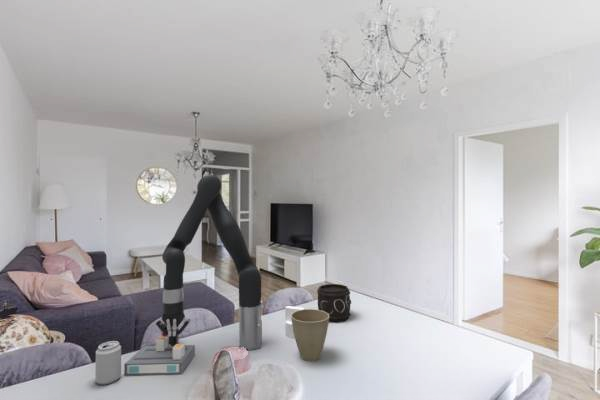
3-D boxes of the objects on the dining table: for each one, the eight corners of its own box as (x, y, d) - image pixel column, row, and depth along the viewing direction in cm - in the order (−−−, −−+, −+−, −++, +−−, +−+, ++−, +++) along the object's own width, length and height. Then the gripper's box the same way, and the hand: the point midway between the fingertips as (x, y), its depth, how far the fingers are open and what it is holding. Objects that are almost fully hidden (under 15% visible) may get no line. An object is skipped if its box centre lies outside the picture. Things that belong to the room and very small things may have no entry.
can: (103, 374, 108) (103, 340, 108) (125, 373, 108) (125, 339, 109) (90, 386, 100) (90, 349, 101) (114, 385, 101) (114, 348, 101)
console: (194, 355, 121) (194, 344, 122) (181, 374, 107) (181, 362, 107) (144, 356, 121) (144, 346, 121) (123, 375, 107) (124, 364, 107)
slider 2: (184, 354, 113) (184, 343, 113) (181, 359, 109) (181, 347, 109) (176, 355, 113) (176, 343, 113) (172, 359, 109) (172, 347, 109)
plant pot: (302, 370, 109) (302, 324, 109) (285, 353, 122) (284, 312, 122) (337, 360, 116) (336, 317, 116) (317, 345, 129) (316, 306, 129)
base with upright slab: (282, 336, 138) (281, 309, 139) (290, 329, 146) (289, 304, 147) (300, 339, 135) (300, 311, 135) (307, 331, 143) (307, 305, 144)
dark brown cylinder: (354, 323, 153) (353, 291, 153) (318, 323, 153) (318, 292, 154) (349, 311, 171) (348, 283, 171) (317, 311, 171) (316, 283, 172)
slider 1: (167, 347, 120) (167, 336, 120) (163, 351, 116) (163, 339, 116) (159, 347, 120) (159, 336, 120) (155, 351, 116) (155, 340, 116)
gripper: (193, 296, 122) (193, 340, 122) (160, 297, 122) (160, 341, 121) (187, 302, 115) (187, 349, 114) (151, 302, 115) (151, 349, 114)
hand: (173, 345), depth 118 cm, fingers closed
